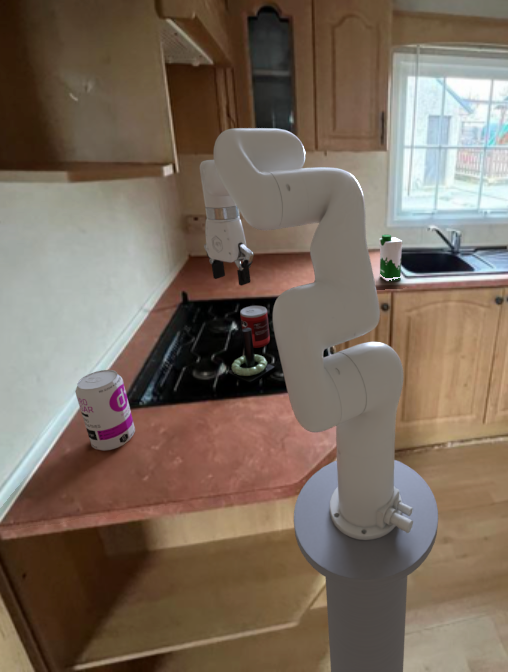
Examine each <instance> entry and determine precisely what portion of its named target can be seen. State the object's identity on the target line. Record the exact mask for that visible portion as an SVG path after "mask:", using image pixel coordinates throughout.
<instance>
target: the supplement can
mask: <svg viewBox="0 0 508 672" xmlns="http://www.w3.org/2000/svg"><path fill="white" fill-rule="evenodd" d="M75 396H76V399H77V403H78V407H79V410H80V413H81V415H82V419H83V422H84V426H85V429H86V433H87V436H88V439H89V442H90V445H91V447H92V448H93V449H95V450H99V451H111V450H115V449H117V448H120V447H122V446H124V445H125V444H127V443H128V442H129V441H131V439H132V437H133V436H134V435H135V432H136V426H135V423H134V419H133V416H132V411H131V406H130V403H129V400H128V395H127V390H126V388H125V383H124V379H123V377H122V375H120V374H118V372H117V371H116V370H114V369H101V370H97V371H93V372H91V373H89V374H86V375H84V376H83V377H81V378H80V379H78V381H77V383H76V388H75Z"/></svg>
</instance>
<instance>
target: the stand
mask: <svg viewBox="0 0 508 672" xmlns="http://www.w3.org/2000/svg"><path fill="white" fill-rule="evenodd" d="M241 335H242V342H243V343H242V344H243V353H244V356H245V360H246V363H244V364H242V365H240V367H241V368H252V367H255V366H257V365H259V363H258V362H255V357H254V355H255V350H254V349H255V348H253V339H252V331H251V328H244V329H242V328H241ZM273 372H276V366H274V365H272V364H269V363H267V365H266V367H265V369H264V370H263V371H261V372H260V373H258V374H255V375H251V376H240V375H237V374H235V373H234V372H233V370H232V369H230V370H228V371H226V374H227V377H230V378H232V379H234V380H235V381H239V382H241V383H243V384H245V385H247V386H250V387H252V386H253V385H254V384H256V383H258V382H259V381H261V380H263V379H264V378H265V377H267V376H268V375H271V374H272V373H273Z"/></svg>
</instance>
